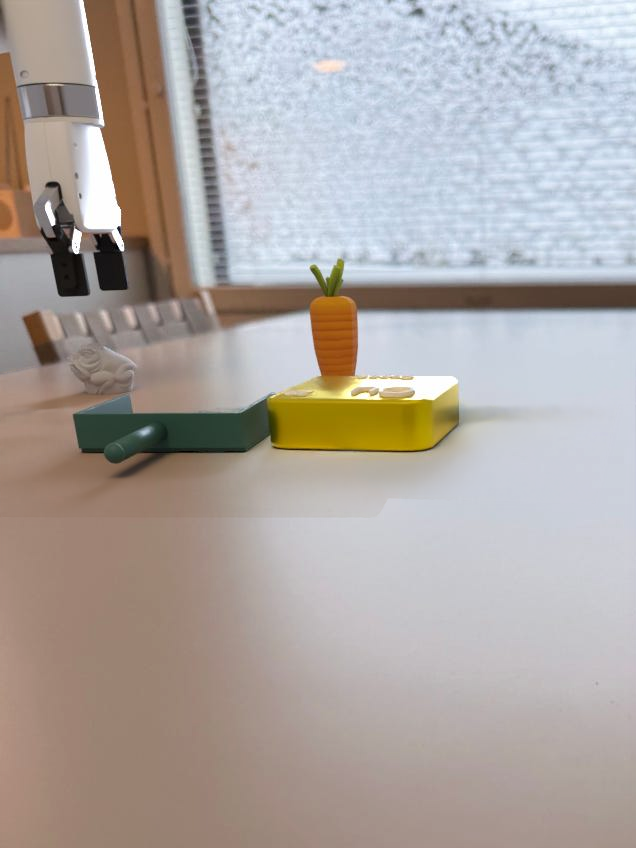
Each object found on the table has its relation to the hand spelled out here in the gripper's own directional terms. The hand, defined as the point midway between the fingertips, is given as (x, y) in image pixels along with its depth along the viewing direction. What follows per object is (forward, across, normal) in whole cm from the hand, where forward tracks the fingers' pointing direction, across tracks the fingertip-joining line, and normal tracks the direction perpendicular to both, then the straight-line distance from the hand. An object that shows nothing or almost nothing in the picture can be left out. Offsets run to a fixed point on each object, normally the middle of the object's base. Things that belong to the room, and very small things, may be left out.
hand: (95, 293), depth 102 cm
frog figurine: (+12, 0, -1) cm, 12 cm away
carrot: (+13, 0, +25) cm, 28 cm away
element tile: (+13, +16, +31) cm, 37 cm away
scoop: (+12, +23, +14) cm, 30 cm away
